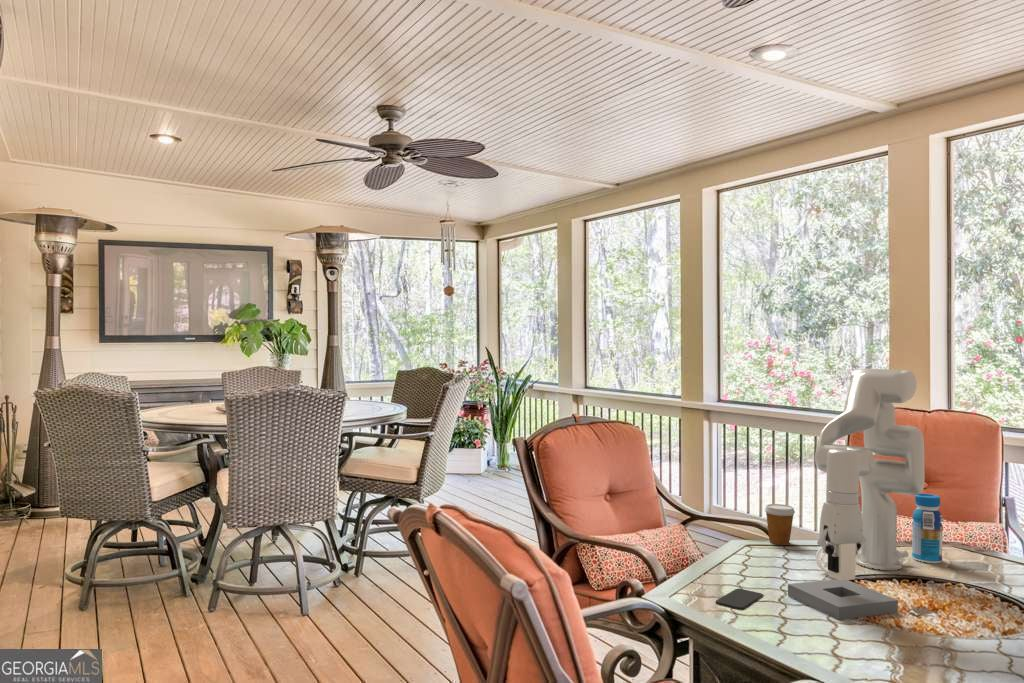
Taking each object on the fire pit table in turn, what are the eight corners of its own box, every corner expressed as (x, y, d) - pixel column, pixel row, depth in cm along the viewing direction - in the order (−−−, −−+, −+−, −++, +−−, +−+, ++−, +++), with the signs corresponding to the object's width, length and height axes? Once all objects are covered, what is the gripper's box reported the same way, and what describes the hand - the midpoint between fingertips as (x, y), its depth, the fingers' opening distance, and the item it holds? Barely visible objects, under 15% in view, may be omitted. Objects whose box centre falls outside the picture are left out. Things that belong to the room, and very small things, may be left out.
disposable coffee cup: (789, 547, 240) (790, 510, 240) (760, 542, 246) (760, 506, 246) (798, 542, 248) (798, 506, 248) (769, 537, 254) (770, 502, 254)
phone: (764, 593, 192) (742, 608, 181) (764, 597, 192) (742, 611, 181) (737, 587, 197) (713, 601, 185) (737, 591, 197) (713, 604, 185)
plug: (841, 573, 190) (842, 532, 190) (855, 579, 185) (855, 537, 186) (827, 575, 188) (828, 534, 188) (840, 580, 184) (841, 538, 184)
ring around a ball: (846, 575, 211) (846, 547, 211) (841, 579, 207) (841, 551, 207) (817, 569, 216) (817, 542, 216) (811, 574, 212) (811, 546, 212)
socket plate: (843, 589, 198) (843, 578, 198) (897, 612, 181) (897, 600, 181) (787, 595, 192) (787, 583, 192) (838, 619, 175) (838, 607, 175)
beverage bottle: (905, 558, 230) (905, 493, 231) (923, 555, 234) (924, 492, 234) (930, 565, 223) (931, 498, 223) (949, 562, 226) (949, 497, 227)
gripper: (857, 494, 193) (856, 564, 193) (804, 496, 188) (803, 568, 188) (880, 499, 186) (879, 572, 186) (826, 502, 181) (825, 577, 181)
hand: (841, 569), depth 187 cm, fingers closed on plug, 4 cm apart
